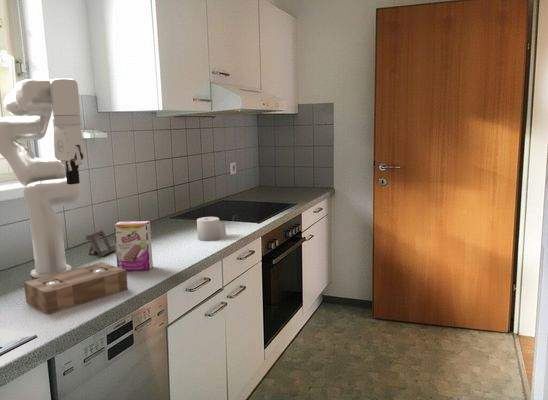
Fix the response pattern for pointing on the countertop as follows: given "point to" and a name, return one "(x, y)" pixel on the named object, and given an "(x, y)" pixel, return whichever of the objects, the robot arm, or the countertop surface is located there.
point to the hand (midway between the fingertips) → (73, 183)
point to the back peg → (98, 270)
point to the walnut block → (75, 287)
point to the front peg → (52, 282)
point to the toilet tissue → (210, 229)
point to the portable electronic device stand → (95, 240)
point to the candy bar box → (133, 245)
